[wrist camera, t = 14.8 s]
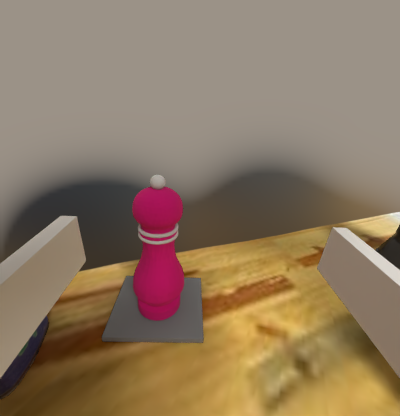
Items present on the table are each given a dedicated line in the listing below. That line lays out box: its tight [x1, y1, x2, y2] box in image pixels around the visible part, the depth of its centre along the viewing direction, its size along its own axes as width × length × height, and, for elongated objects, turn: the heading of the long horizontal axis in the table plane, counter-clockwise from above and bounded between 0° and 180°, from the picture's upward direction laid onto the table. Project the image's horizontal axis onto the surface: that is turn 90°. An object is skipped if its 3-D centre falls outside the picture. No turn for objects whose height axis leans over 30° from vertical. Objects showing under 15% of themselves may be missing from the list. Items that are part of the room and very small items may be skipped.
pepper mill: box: [132, 175, 184, 321], centre depth 28 cm, size 7×7×20 cm
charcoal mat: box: [102, 276, 204, 343], centre depth 32 cm, size 13×11×1 cm
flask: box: [0, 315, 49, 399], centre depth 23 cm, size 9×3×11 cm, turn 9°
